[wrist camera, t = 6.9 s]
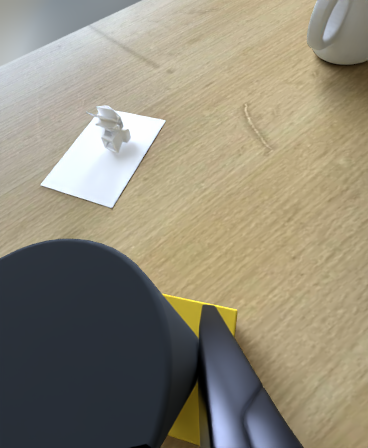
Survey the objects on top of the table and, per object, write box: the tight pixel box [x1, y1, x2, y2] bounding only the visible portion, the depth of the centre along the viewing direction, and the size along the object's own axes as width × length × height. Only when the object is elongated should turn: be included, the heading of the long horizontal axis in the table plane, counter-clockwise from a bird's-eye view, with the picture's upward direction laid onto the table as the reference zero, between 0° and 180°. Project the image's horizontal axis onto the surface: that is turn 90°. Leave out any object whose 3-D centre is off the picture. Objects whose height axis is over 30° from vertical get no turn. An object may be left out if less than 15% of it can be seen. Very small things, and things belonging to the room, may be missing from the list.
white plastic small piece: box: [86, 106, 132, 155], centre depth 20 cm, size 3×3×3 cm
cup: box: [307, 0, 368, 65], centre depth 21 cm, size 11×8×8 cm
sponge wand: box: [0, 239, 237, 448], centre depth 8 cm, size 5×5×12 cm
